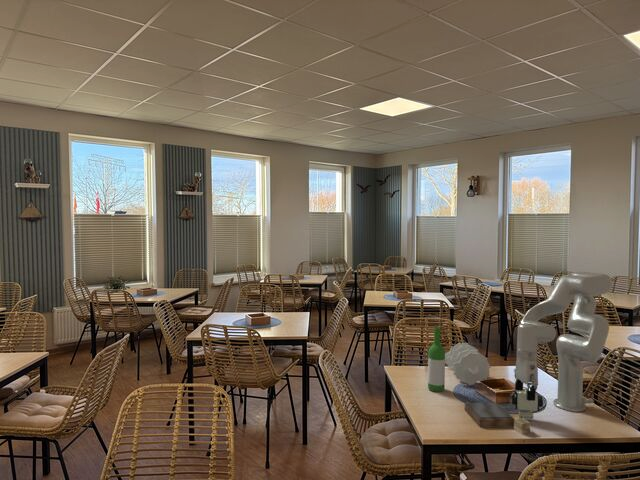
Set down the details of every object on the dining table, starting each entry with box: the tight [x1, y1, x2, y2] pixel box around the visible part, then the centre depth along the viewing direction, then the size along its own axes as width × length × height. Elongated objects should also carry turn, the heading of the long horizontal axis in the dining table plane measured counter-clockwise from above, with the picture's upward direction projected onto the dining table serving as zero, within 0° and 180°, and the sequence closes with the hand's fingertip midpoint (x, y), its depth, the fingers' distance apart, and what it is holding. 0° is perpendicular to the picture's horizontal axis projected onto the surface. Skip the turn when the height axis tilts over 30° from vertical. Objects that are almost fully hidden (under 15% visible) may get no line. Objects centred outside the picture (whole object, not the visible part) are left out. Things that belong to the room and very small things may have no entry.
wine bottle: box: [427, 326, 446, 393], centre depth 216 cm, size 8×8×30 cm
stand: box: [464, 402, 515, 428], centre depth 185 cm, size 14×16×3 cm
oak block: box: [513, 418, 531, 435], centre depth 173 cm, size 4×4×4 cm
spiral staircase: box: [445, 341, 491, 386], centre depth 231 cm, size 18×18×25 cm
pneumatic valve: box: [509, 389, 544, 422], centre depth 185 cm, size 6×12×12 cm, turn 78°
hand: (524, 395), depth 184 cm, fingers open, 9 cm apart
